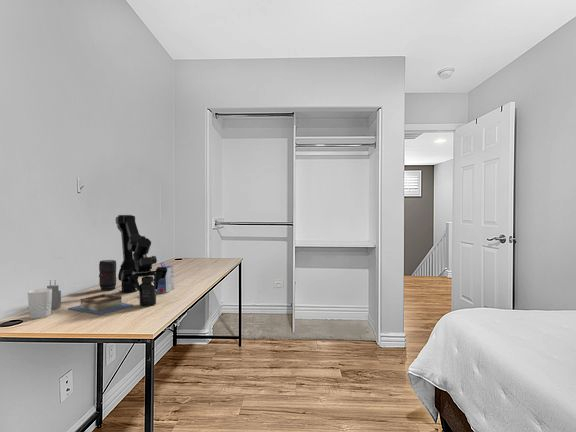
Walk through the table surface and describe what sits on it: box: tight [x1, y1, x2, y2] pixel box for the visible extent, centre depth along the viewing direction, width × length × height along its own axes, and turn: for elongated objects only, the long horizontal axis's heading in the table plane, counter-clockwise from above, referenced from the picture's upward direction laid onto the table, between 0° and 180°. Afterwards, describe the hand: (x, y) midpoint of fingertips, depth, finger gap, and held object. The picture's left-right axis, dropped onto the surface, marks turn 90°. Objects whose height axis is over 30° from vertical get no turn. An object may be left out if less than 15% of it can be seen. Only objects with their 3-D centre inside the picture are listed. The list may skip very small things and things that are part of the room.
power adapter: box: [46, 280, 62, 311], centre depth 156 cm, size 3×5×12 cm, turn 100°
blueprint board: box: [67, 302, 135, 316], centre depth 157 cm, size 20×16×1 cm
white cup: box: [27, 287, 52, 319], centre depth 144 cm, size 8×8×10 cm
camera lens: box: [98, 259, 117, 292], centre depth 194 cm, size 8×8×15 cm
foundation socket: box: [80, 293, 123, 311], centre depth 157 cm, size 11×11×4 cm
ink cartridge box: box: [155, 261, 175, 294], centre depth 189 cm, size 10×6×14 cm, turn 174°
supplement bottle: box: [138, 276, 157, 307], centre depth 161 cm, size 7×7×12 cm
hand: (148, 290), depth 160 cm, fingers closed on supplement bottle, 7 cm apart
